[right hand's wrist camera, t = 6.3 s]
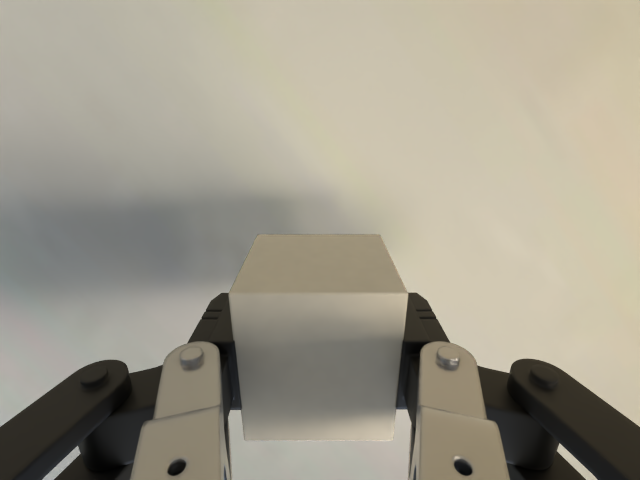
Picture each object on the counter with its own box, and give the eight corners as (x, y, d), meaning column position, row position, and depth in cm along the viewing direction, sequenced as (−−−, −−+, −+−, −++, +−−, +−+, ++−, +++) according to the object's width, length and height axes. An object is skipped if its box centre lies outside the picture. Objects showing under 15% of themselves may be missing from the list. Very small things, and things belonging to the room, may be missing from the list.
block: (265, 348, 14) (243, 442, 10) (256, 233, 12) (227, 293, 8) (372, 348, 14) (393, 442, 10) (380, 233, 12) (409, 293, 8)
